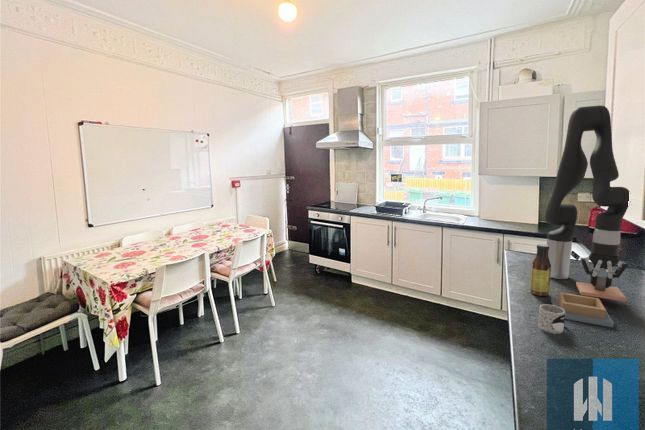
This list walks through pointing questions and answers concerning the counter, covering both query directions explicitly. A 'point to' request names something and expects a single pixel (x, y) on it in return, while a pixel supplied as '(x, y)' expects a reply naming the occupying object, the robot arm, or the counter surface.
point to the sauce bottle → (541, 272)
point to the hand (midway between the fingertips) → (600, 286)
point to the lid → (600, 289)
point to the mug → (551, 319)
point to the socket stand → (583, 309)
